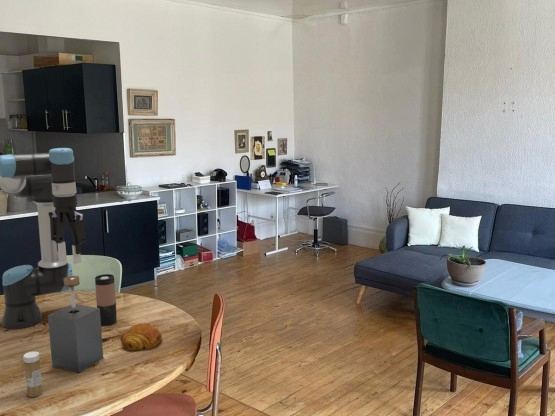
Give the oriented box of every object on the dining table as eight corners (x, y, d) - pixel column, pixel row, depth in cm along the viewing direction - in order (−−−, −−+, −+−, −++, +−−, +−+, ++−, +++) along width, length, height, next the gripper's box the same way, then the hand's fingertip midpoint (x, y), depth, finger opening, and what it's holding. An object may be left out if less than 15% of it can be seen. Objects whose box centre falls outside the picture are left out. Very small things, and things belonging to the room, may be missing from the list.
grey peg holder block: (52, 366, 194) (47, 315, 190) (77, 352, 204) (73, 303, 201) (79, 373, 189) (74, 320, 185) (103, 358, 200) (99, 308, 196)
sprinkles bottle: (24, 394, 175) (20, 354, 173) (38, 388, 179) (34, 349, 176) (31, 399, 172) (27, 358, 170) (45, 393, 176) (41, 353, 173)
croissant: (115, 354, 208) (111, 335, 206) (139, 332, 222) (135, 314, 220) (148, 358, 203) (145, 339, 201) (170, 336, 217) (167, 318, 215)
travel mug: (120, 319, 236) (117, 274, 232) (113, 326, 228) (109, 279, 224) (102, 319, 236) (99, 273, 233) (95, 326, 229) (91, 279, 225)
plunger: (56, 336, 192) (51, 280, 189) (75, 327, 200) (70, 272, 196) (76, 341, 189) (71, 283, 185) (94, 331, 197) (90, 275, 193)
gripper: (34, 195, 186) (40, 262, 190) (78, 198, 178) (83, 268, 183) (52, 191, 193) (57, 256, 197) (94, 194, 185) (99, 262, 189)
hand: (70, 261), depth 190 cm, fingers open, 6 cm apart
